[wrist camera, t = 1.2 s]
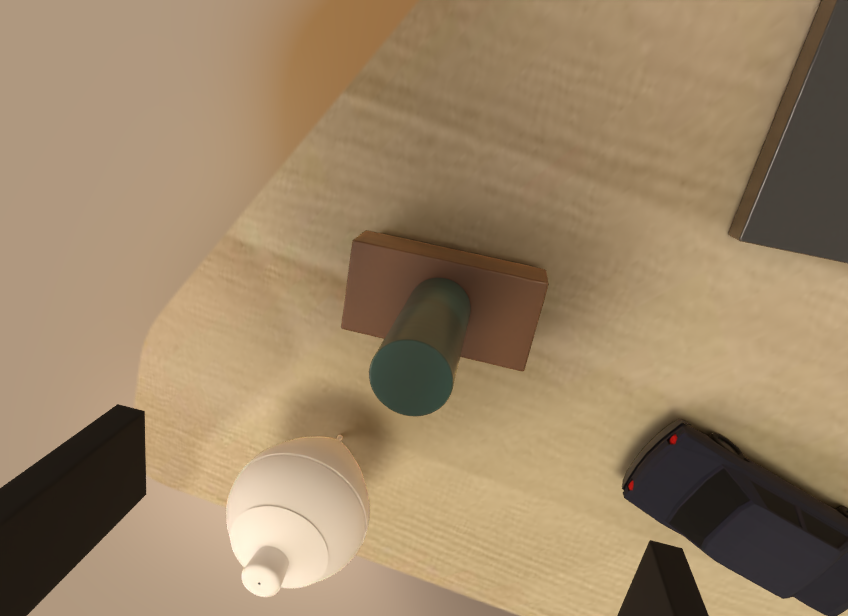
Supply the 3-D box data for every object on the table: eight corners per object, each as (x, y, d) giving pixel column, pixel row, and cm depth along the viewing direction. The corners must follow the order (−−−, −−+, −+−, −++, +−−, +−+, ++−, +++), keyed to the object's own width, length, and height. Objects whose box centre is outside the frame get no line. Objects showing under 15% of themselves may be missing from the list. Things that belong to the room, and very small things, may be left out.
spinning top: (408, 479, 35) (358, 644, 24) (304, 487, 37) (214, 645, 26) (380, 378, 33) (312, 510, 22) (272, 392, 35) (157, 521, 24)
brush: (359, 306, 32) (277, 404, 21) (371, 225, 30) (288, 287, 19) (523, 344, 31) (526, 467, 20) (545, 263, 29) (562, 350, 18)
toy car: (807, 583, 33) (855, 659, 28) (609, 470, 33) (624, 528, 28) (881, 523, 31) (945, 595, 26) (669, 401, 31) (697, 452, 26)
